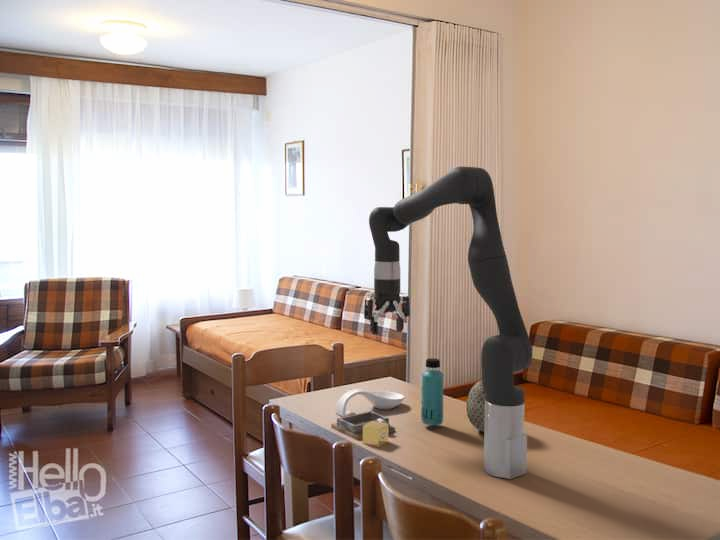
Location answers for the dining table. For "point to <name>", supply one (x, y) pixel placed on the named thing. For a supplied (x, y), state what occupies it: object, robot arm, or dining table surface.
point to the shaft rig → (358, 423)
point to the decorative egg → (476, 406)
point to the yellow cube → (375, 433)
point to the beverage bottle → (432, 394)
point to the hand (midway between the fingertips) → (387, 332)
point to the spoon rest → (370, 399)
